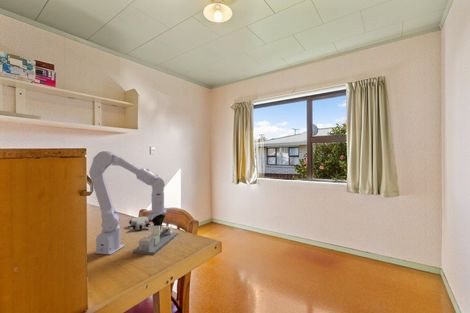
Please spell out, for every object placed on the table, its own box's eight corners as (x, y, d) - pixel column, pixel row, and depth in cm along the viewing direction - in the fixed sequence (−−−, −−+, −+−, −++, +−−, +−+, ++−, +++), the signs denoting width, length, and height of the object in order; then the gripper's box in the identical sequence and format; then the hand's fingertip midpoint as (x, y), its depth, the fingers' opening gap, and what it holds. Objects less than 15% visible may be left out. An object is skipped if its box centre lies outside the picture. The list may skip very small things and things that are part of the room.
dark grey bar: (147, 246, 98) (147, 243, 98) (144, 246, 98) (144, 243, 98) (168, 230, 117) (168, 228, 117) (166, 230, 117) (166, 228, 117)
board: (154, 254, 95) (154, 243, 95) (132, 252, 97) (132, 242, 97) (177, 234, 118) (177, 225, 118) (160, 233, 120) (160, 224, 120)
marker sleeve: (155, 245, 102) (155, 228, 102) (147, 244, 102) (147, 228, 102) (160, 241, 106) (160, 225, 106) (152, 240, 107) (152, 225, 107)
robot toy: (152, 231, 127) (150, 221, 140) (152, 223, 127) (150, 214, 140) (128, 234, 122) (128, 224, 135) (128, 226, 121) (128, 217, 135)
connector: (149, 251, 96) (149, 241, 96) (138, 250, 97) (138, 240, 97) (155, 246, 101) (155, 236, 101) (145, 245, 102) (145, 236, 102)
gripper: (157, 206, 100) (158, 236, 100) (172, 199, 114) (172, 226, 114) (143, 205, 101) (143, 235, 101) (159, 199, 115) (159, 225, 116)
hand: (158, 230), depth 108 cm, fingers closed
